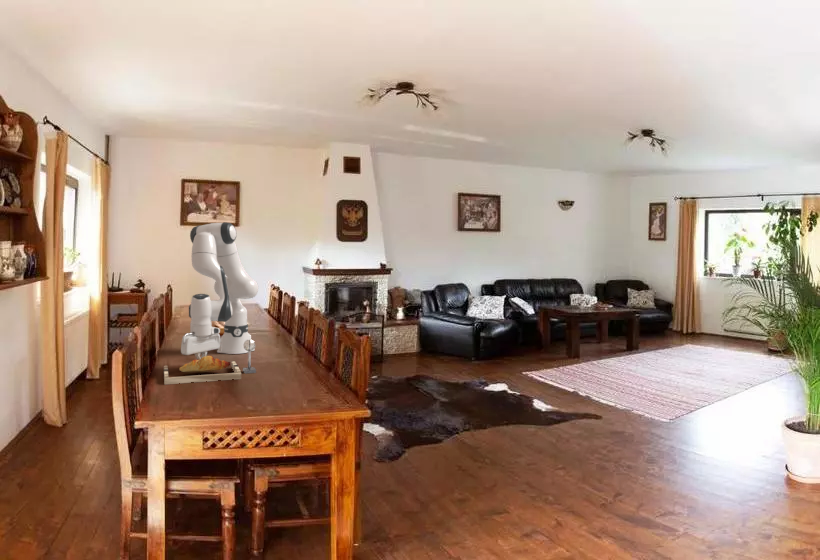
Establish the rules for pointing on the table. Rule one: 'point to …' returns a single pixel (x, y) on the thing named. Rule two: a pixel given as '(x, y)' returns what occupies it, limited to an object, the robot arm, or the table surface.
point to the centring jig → (202, 376)
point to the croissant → (204, 365)
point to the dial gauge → (249, 356)
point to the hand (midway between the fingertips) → (201, 361)
